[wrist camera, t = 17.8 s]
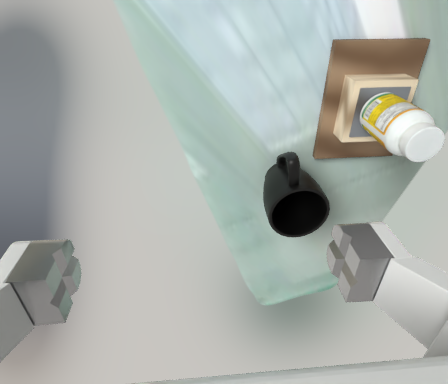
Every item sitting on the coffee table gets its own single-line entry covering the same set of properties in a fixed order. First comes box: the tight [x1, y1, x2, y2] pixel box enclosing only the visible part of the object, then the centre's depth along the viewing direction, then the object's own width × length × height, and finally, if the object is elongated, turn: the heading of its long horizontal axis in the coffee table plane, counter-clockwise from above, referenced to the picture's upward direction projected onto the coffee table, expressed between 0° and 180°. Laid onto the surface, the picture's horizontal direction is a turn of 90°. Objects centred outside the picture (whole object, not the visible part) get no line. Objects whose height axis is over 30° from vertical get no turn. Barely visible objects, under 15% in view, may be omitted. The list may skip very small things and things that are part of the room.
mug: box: [263, 152, 330, 237], centre depth 44 cm, size 8×12×10 cm
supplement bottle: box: [360, 92, 445, 162], centre depth 36 cm, size 5×5×10 cm
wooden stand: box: [313, 38, 430, 159], centre depth 42 cm, size 16×12×4 cm
